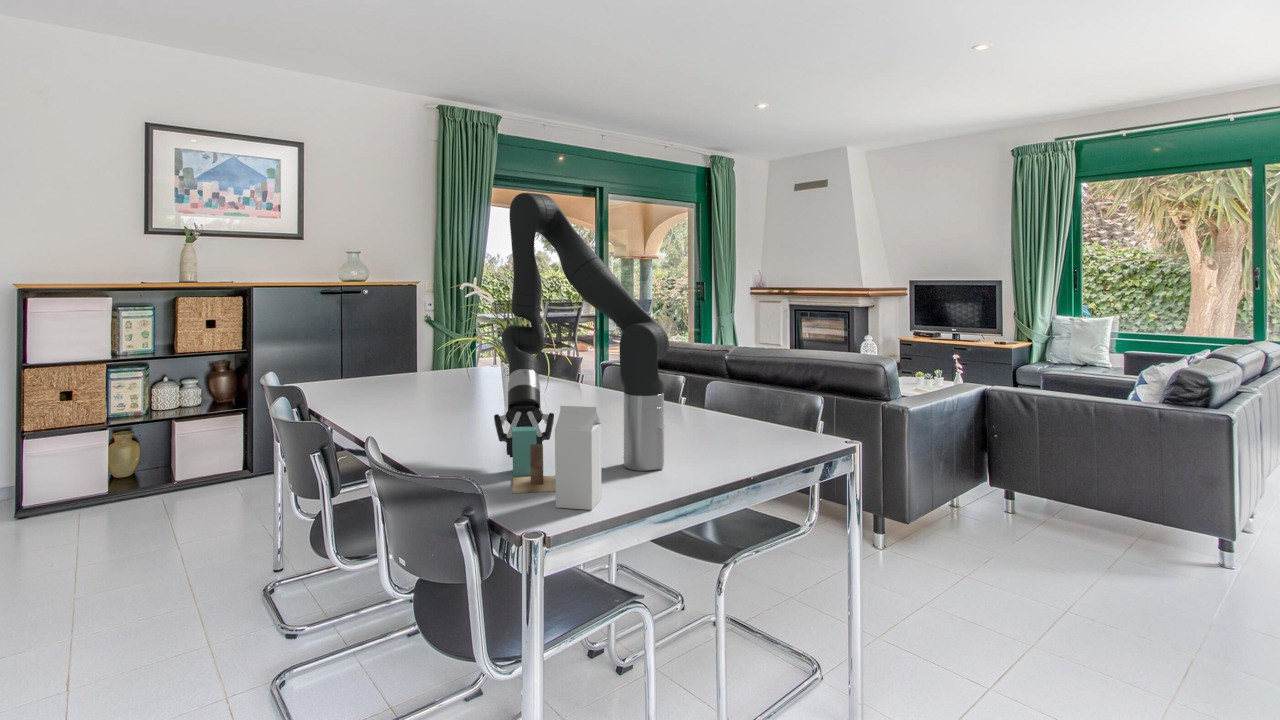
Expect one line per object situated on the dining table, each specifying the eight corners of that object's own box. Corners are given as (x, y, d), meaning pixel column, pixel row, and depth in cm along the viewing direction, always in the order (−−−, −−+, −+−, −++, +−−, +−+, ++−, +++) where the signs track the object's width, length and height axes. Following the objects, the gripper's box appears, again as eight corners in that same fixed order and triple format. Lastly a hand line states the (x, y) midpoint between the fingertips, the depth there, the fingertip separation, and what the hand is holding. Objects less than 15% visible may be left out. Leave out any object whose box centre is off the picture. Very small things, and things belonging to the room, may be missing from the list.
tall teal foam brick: (536, 468, 153) (535, 425, 151) (536, 475, 147) (536, 430, 146) (513, 469, 152) (512, 426, 151) (513, 476, 147) (512, 431, 146)
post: (559, 477, 146) (559, 439, 145) (562, 490, 136) (561, 450, 135) (513, 479, 144) (512, 441, 143) (512, 493, 134) (511, 452, 134)
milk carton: (591, 510, 124) (591, 410, 122) (555, 508, 126) (554, 408, 124) (601, 499, 131) (601, 403, 129) (567, 496, 133) (566, 402, 130)
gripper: (492, 384, 154) (490, 447, 143) (554, 382, 156) (557, 445, 146) (493, 402, 159) (492, 465, 149) (554, 401, 162) (557, 462, 151)
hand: (524, 454), depth 147 cm, fingers closed on tall teal foam brick, 5 cm apart
